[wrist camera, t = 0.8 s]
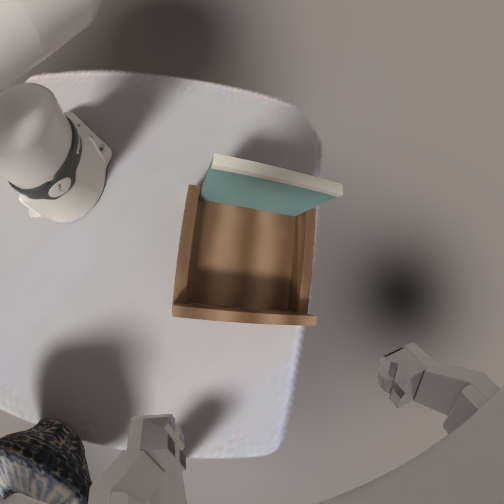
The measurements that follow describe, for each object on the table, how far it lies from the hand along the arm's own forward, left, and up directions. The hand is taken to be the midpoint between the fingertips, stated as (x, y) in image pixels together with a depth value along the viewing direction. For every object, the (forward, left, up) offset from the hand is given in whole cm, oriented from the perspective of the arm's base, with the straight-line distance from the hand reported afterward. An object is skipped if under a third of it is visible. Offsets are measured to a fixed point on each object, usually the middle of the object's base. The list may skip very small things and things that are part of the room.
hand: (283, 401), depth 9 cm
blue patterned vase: (+5, -41, -36) cm, 55 cm away
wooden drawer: (-1, +10, -36) cm, 37 cm away
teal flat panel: (-8, +17, -33) cm, 38 cm away
